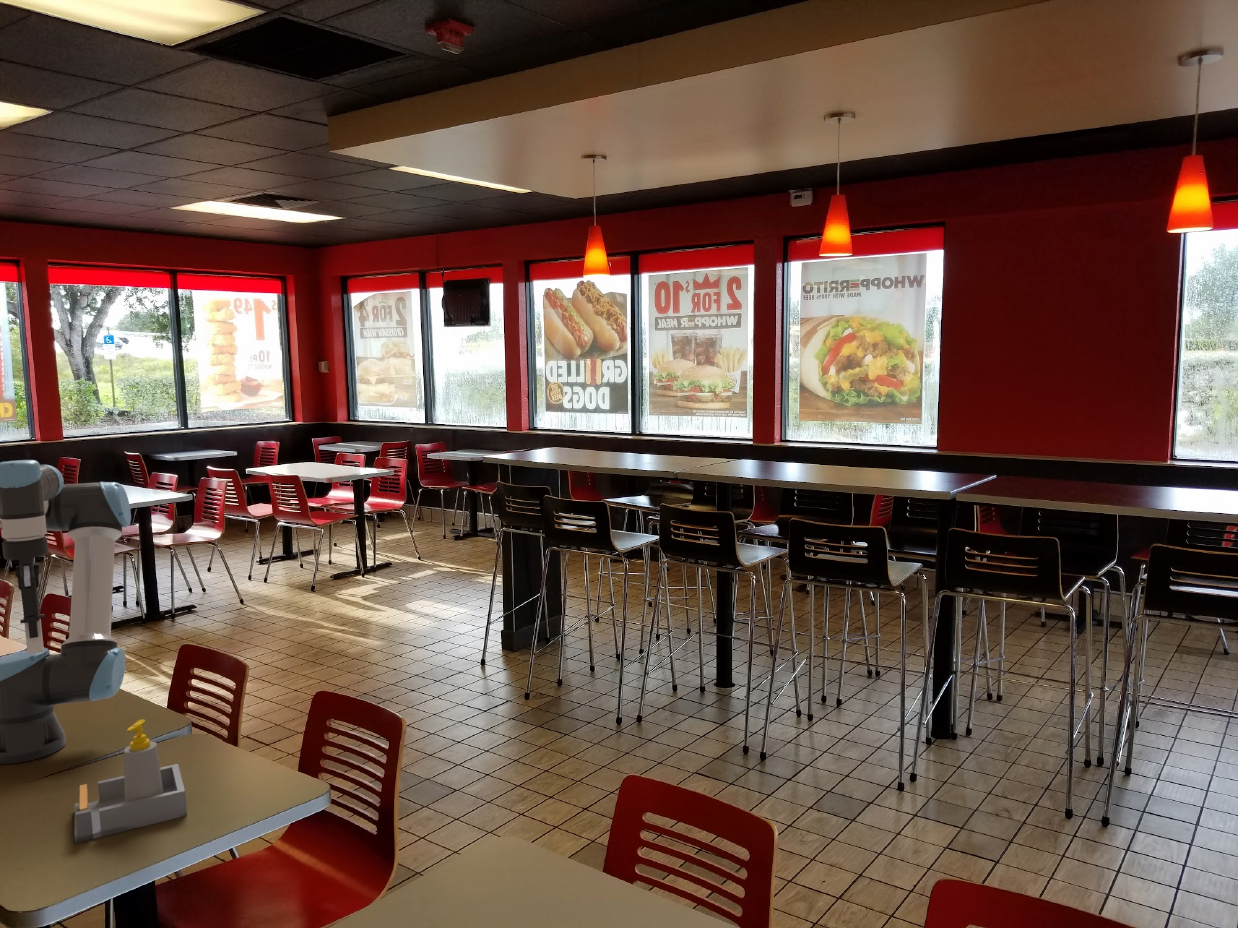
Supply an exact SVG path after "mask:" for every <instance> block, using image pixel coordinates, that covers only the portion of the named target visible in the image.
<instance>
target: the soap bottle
mask: <svg viewBox="0 0 1238 928" xmlns="http://www.w3.org/2000/svg"><path fill="white" fill-rule="evenodd" d="M145 722H146V719H143V718H142V719H138V720H137V721H136V722H135V723H134V724H132V725H131V726H130V727H128V728H127V730H126V731H127V732H128V733H130V732H133V731H134V732H135V733H136V735H133V738H132V741H130V742H129V745H128V746H125V748H124V749H123V771H124V773H123V776H124V783H125V803H126V802H130V801H134V800H138V799H143V798H147V797H151V796H155V795H159V794H164V792H163V785H162V778H161V771H160V768H161V765H160V758H159V750H158V744H157V742H154V741H153V740H152V741H151V740H150V738H147V735H146V734H144V733H143V731H144V725H143V724H144V723H145Z"/></svg>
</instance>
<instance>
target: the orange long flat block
mask: <svg viewBox="0 0 1238 928" xmlns="http://www.w3.org/2000/svg"><path fill="white" fill-rule="evenodd" d="M89 803H90V802H89V791H88V784H87V783H85V784H80V785H79V805H80V811H83V810H87V809H89Z"/></svg>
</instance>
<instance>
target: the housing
mask: <svg viewBox="0 0 1238 928" xmlns="http://www.w3.org/2000/svg"><path fill="white" fill-rule="evenodd" d="M160 771H161V778H162V785H163V792H164V794H159V795H155V796H151V797H147V798H143V799H138V800H134V801H130V802H126V803H125V783H124V775H121V776H117V777H113V778H108V779H104V780H98V781H97V787H98V799H99V800H95V801H93V802H92V801H91V802H89V809H87V810H83V811H80V802H76V803H74V829H73V830H74V832H73V833H74V844H79V843H83V842H86V841H91V840H95V839H99V838H102V837H107V836H110V835H114V834H119V833H122V832H126V831H130V830H134V829H138V828H143V827H146V826H151V825H154V824H157V823H162V822H166V821H169V820H174V819H178V818H181V817H186V816H187V815H188V814H187V811H188V810H187V801H186V789H185V786H184V783H183V778H182V774H181V770H180V766H179V763H175V764H171V765H166V766H162V767H161V766H160Z"/></svg>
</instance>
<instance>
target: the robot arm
mask: <svg viewBox="0 0 1238 928" xmlns="http://www.w3.org/2000/svg"><path fill="white" fill-rule="evenodd" d="M130 505H131V504H130V501H129V497H128V494H127V492H126V489H125V487H124V486H123V485H122V484H120V483H119V482H115V481H113V482H112V481H111V482H109V481H108V482H107V481H100V482H86V483H85V482H84V483H83V482H82V483H67V484H64V477H63V474H62V473H61V472H60V471H59V469H58V468H56V467H54V466H53V465H49V464H40V463H39V462H38V461H37V460H35V459H22V460H20V459H19V460H9V461H1V462H0V529H1V530H0V531H1V538H2V539H4V540H3V541H2V542H1V545H2V555H3V559H4V560H7V561H18V562H19V563H18V564H19V565H16V566H15V568H14V569H15V572H14V573H15V577H16V578H17V586H18V590H19V591H20V593H21V594H20V596H21V602H22V611H23V619H20V622H19V623H20V624H24V631H25V632H24V633H25V641H26V650H22V651H18V652H15V653H11V654H9V655H6V656H3V657H1V658H0V765H10V764H18V763H19V764H20V763H25V762H29V761H33V760H34V761H35V760H37V759H41V758H44V757H48V756H49V755H52V754H53V753H56V752H58V751H59V750H61V749H62V748H63V747H64V746H65V745H66V743H67V740H66V733H65V731H64V729H63V727H62V725H61V723H60V721H59V719H58V717H57V715H56V713H55V707H54V706H55V705H65V704H71V703H73V704H74V703H82V702H89V701H90V702H96V701H98V700H105V699H110V698H112V697H114V696H115V695H117V693H118V691H120V689H121V687H122V684H123V681H124V676H125V673H126V653H125V650H124V649H123V648H121V647H118V641H117V640H116V639H115V638H114V637H113V636H112V634H111V633H112V631H111V629H112V613H113V612H112V609H113V590H114V589H113V587H114V568H115V567H114V566H115V565H114V564H115V547H116V546H115V543H116V541H117V540H118V539H120V538H121V537H122V536H123V528H127V527H129V526H131V521H132V514H131V512H132V511H131V506H130ZM48 531H53V532H65V531H68V532H67V536H68V537H70V538H69V539H71V540H73V542H74V551H73V553H74V554H73V566H72V568H73V569H72V581H71V582H72V586H71V601H70V620H69V621H70V622H69V635H68V638H67V639H66V640H65V641H64V642H63V643H61V646H60V653H57V654H55V653H54V654H51V652H50V650H49V648H47V647H44V640H43V629H42V621H41V618H42V619H43V618H45V614H44V613H41V608H40V602H39V589H38V588H39V587H40V570H41V569H40V567H41V566H40V563H35V559H36V558H42V557H44V556H46V555H48V554H49V544H48V537H46V536H45V535H46V534H47V532H48Z"/></svg>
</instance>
